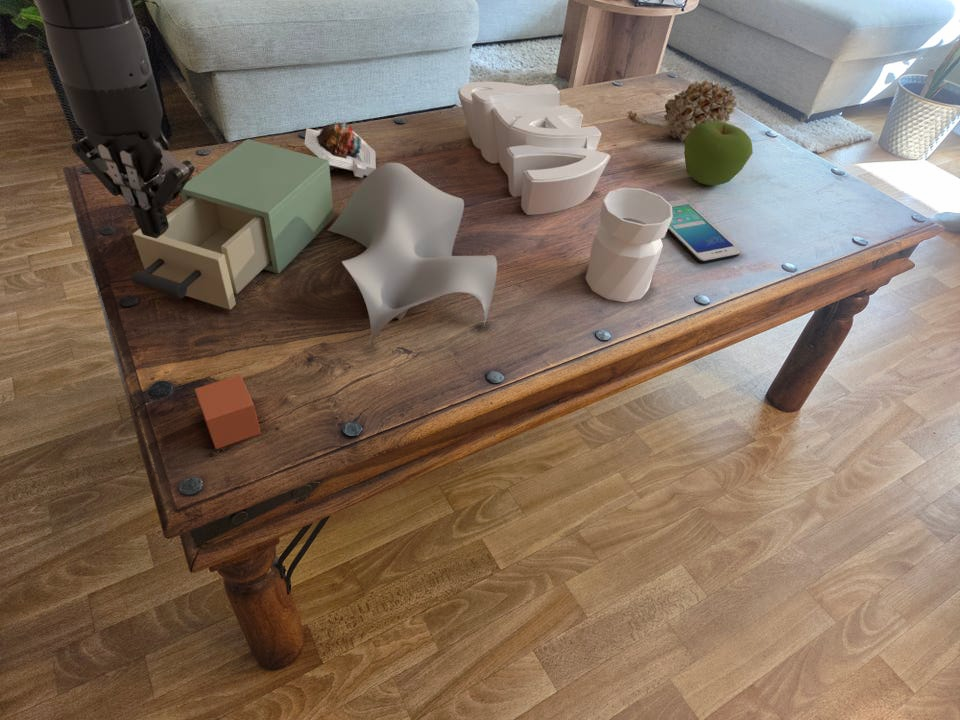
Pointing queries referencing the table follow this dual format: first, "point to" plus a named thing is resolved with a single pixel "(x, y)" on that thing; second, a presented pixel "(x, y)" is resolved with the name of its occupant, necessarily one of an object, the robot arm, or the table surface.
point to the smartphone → (699, 234)
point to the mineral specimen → (341, 148)
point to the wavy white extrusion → (534, 143)
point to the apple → (716, 152)
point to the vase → (628, 243)
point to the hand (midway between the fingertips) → (156, 233)
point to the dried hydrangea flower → (692, 109)
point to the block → (228, 411)
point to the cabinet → (271, 194)
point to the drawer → (204, 253)
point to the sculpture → (408, 245)
